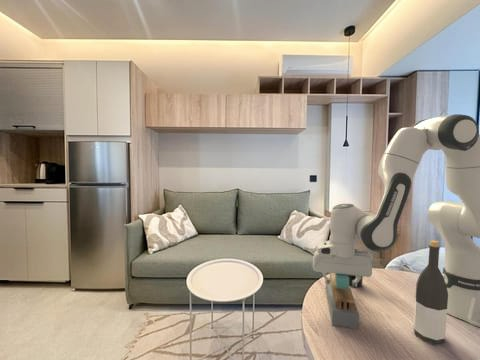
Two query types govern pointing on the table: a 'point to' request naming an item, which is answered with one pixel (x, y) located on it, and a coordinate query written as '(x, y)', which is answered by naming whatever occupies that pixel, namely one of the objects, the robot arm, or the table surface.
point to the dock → (341, 312)
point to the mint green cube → (342, 281)
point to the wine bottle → (431, 301)
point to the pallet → (341, 295)
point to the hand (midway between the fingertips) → (340, 284)
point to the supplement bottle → (353, 277)
